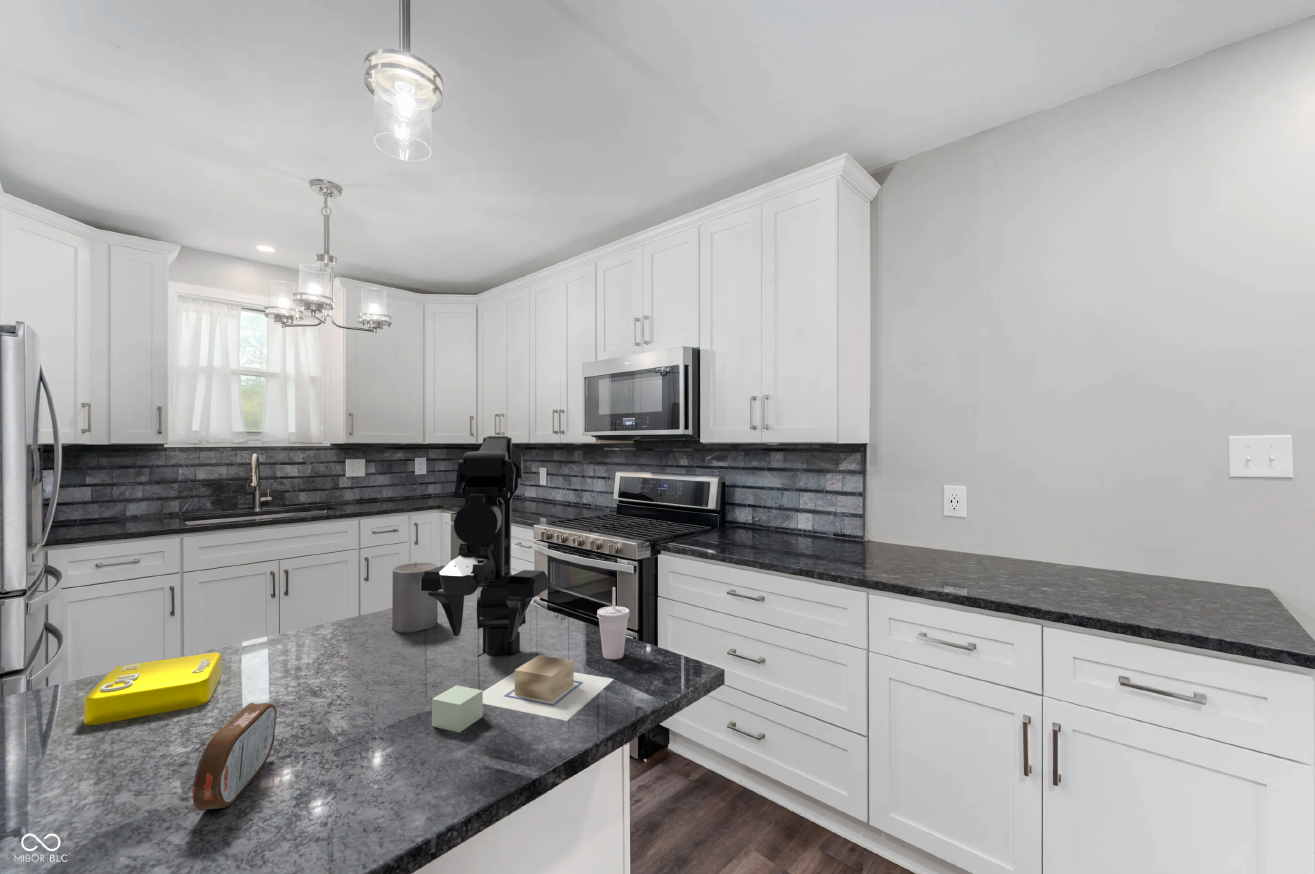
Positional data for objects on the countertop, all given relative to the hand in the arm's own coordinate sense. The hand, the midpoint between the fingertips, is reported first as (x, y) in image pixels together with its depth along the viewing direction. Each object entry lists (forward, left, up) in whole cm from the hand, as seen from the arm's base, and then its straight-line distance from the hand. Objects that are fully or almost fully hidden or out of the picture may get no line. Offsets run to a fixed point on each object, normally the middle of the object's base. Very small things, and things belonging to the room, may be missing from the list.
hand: (483, 637), depth 84 cm
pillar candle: (-44, +31, -13) cm, 56 cm away
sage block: (-2, -3, -13) cm, 13 cm away
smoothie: (+8, +29, -13) cm, 33 cm away
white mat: (+4, +11, -13) cm, 17 cm away
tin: (-17, -24, -13) cm, 32 cm away
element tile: (-56, -13, -13) cm, 58 cm away
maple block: (+4, +11, -12) cm, 16 cm away
